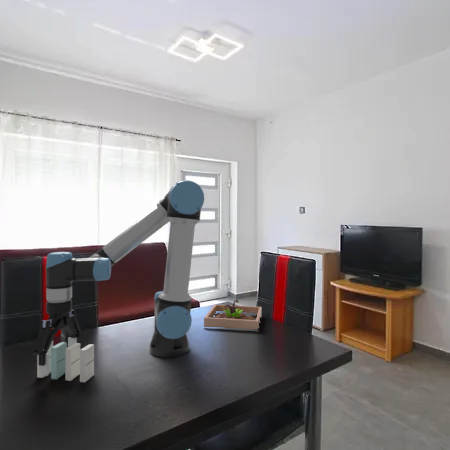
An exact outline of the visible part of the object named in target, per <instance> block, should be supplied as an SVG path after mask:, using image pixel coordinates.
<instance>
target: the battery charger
mask: <svg viewBox="0 0 450 450" xmlns="http://www.w3.org/2000/svg"><path fill="white" fill-rule="evenodd" d="M69 337H70V336H69V334H68V333H67V332H66V330H65V329H64V328H62V329H60V340H61V342H67V348H68V338H69Z"/></svg>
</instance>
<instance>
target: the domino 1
mask: <svg viewBox="0 0 450 450" xmlns="http://www.w3.org/2000/svg"><path fill="white" fill-rule="evenodd" d="M66 348H67V342H63V341H61V342H59V343H57V344H55V345H53V347H52V348H51V373H50V375H51V376H50V377H51V380H58V379H59V378H60V377H62V376H63V375H65V367H66Z"/></svg>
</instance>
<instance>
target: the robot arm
mask: <svg viewBox="0 0 450 450" xmlns="http://www.w3.org/2000/svg"><path fill="white" fill-rule="evenodd" d="M204 203H205V193H204V190H203V189H202V187H201V186H200V185H199V184H198V183H196V182H195V181H192V180H188V179H184V180H179V181H177V182H175V183H174V184H173V185H172V186H171V188H170V189H169V191H168V192H167V194H165V195H164V196H163V197H162V198H161V199H160V200H158V201H157V202H156V206H155V207H154V208H152V209H151V210H149V211H148V212H147V213H146V214H144V215H143V216H142V217H141V218H139V219H138V220H136V222H134V223H133V224H132V225H130V226H129V227H128V228H126V229H125V230H124V231H122V232H121V233H120V234H118V235H116V236H115V237H114V238H113V239H111V240H110V241H109V242H108V243H107V244H105V245H104V246H103V247H101V248H100V249H98V250H97V251H96V252H94V253H93V254H92V255H90V256H89V257H82V258H78V257H74V256H73V253H72V252H70V251H55V252H51V253H48V254H47V256H46V266H45V277H46V278H45V281H46V282H45V284H46V285H45V287H46V290H45V291H46V292H45V293H46V294H45V296H46V302H45V313H46V314H47V315H48V319H47V320H43V319H42V320H41V321H40V328H39V332H38V334H37V338H36V341H35V343H34V347H33V350H32V355H34V356H37V355H38V356H39V375H44V376H45V377H48V376H49V375H50V373H49V353H47V352H48V349H49V347H50V345H51V343H52V341H53V342H54V338H55V336H56V335H57V333H59V331H61V329H62V328H64V329H65V330H66V332H67V333H68V334H69V336H70V337H69V338H68V347H69V346H71V345H73V344H75V343H78V338H80V337H81V333H82V329H81V326H80V322H79V320H78V317H77V313H76V309H73V300H72V298H73V282H89V281H90V282H96V281H97V282H100V281H108V280H110V278H111V273H112V267H113V266H114V265H115V264H116V263H118V262H119V261H121V260H122V258H124V257H126V255H128V254H129V253H130V252H132V251H133V250H134V249H136V248H137V247H138V246H140V245H141V244H142V243H143V242H145V241H146V240H147V239H149V238H150V237H151V236H153V235H154V234H155V233H156V232H157V231H158V232H159V230H161V229H162V228H163V227H164V226H166V225H167V224H168V223H170V224H169V235H168V244H167V251H166V253H167V254H166V264H165V272H164V281H163V290H161V291H157V292H155V294H154V299H153V300H154V331H153V335H152V338H151V340H150V344H149V353H150V354H151V355H153V356H155V357H158V358H174V357H175V358H176V357H179V356H182V355H184V354H187V353H188V352H189V350H190V343H189V340H188V337H187V333H188V332H189V331H190V329H191V326H192V314H191V308H192V296H191V295H190V294H189V285H190V275H191V267H192V266H191V265H192V258H193V249H194V236H195V230H196V229H195V227H196V225H197V224H198V223H199V222H200V221H201V214H202V213H201V212H202V208H203V207H204ZM43 350H44V351H43ZM187 351H188V352H187Z"/></svg>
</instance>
